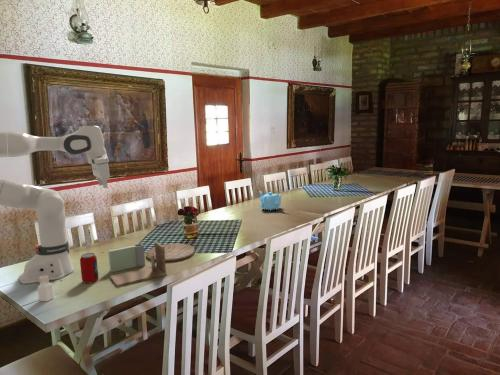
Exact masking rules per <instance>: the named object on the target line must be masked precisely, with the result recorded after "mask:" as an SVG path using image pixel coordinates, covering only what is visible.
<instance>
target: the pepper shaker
mask: <svg viewBox="0 0 500 375" xmlns="http://www.w3.org/2000/svg"><path fill="white" fill-rule="evenodd" d="M39 279H40V282H39V285H38V286H37V294H38V301H40V302H49V301H51V300H52V299H54V296H55V295H54V288H53V283H52V282H49V281H50V280H49V277H48V276H47V275H44V276H41V277H39Z"/></svg>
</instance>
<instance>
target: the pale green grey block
mask: <svg viewBox="0 0 500 375" xmlns="http://www.w3.org/2000/svg"><path fill="white" fill-rule="evenodd" d="M107 251H108V252H107V253H108V260H109V272H110V273H113V272H117V271H122V270H126V269H131V268H135V267H137V268H138V267H143V266H146V259H145V258H146V257H145V256H146V255H145V247H144V244H143V243H138V244H137V243H136V244H133V245H130V246H124V247H120V248H115V249H109V250H107Z"/></svg>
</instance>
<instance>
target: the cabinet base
mask: <svg viewBox="0 0 500 375" xmlns="http://www.w3.org/2000/svg"><path fill="white" fill-rule="evenodd" d="M162 245H163V244H160V243H159V242H158V241H154V247H155V254H156V262H155V257H154V255H151V261H150V263H151V266H147V267H142V268H139V269H134V270H131V271H125V272H122V273H116V274H112V275H110V276H109V278H110V280H111V281H112V282H113V284H114V285H115V287H116V288H119V287H123V286H124V287H125V286H128V285H132V284H136V283H140V282H144V281H147V280H152V279H156V278H160V277H164V276H167V275H168V274H167V270H166V269H167V268H166V263H165V251H164V246H162Z"/></svg>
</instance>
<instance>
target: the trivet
mask: <svg viewBox="0 0 500 375" xmlns="http://www.w3.org/2000/svg"><path fill="white" fill-rule="evenodd" d="M161 245H162V246H164V251H165V264H166V263H177V262H179V261H184V260H187V259H190V258H192V257H193V256H194V254H195V247H194V246H192V245H190V244H187V243H186V244H185V243H168V244H167V243H166V244H161ZM151 255H154V257H155V263H156V254H155V246H153V247H152V248H150V249H148V250H147V251H146V253H145V256H146V257H145V258H146V259H147V260H148V261H150V262H151Z"/></svg>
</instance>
